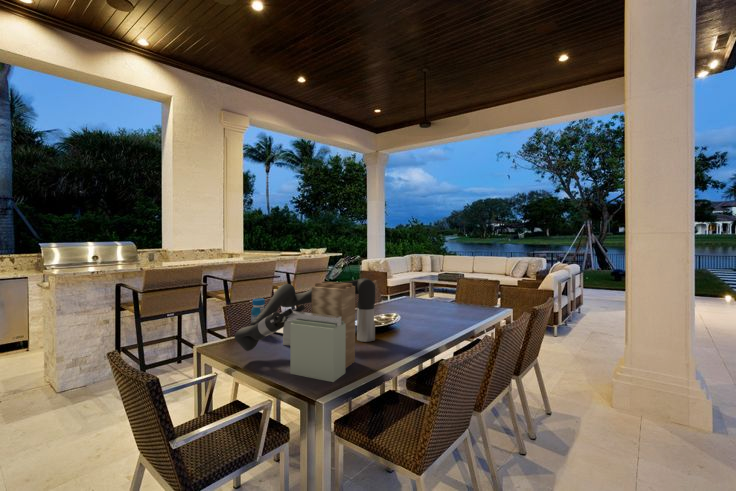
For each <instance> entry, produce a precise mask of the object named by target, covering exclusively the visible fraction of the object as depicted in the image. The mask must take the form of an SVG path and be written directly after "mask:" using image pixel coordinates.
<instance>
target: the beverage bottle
mask: <svg viewBox="0 0 736 491" xmlns="http://www.w3.org/2000/svg"><path fill="white" fill-rule="evenodd" d="M265 303H266V300H265V298H262V297H261V298H253V299H252V308H251V311H250V313H251V315H250V320H251V322H252V321H253V320H254V319H255V318H256V317H257V316H258V315H259V314H260V313H261V312H262V310H263V309H264V308H265V307H266V305H265ZM251 322H250V323H251Z"/></svg>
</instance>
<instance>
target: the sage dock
mask: <svg viewBox="0 0 736 491" xmlns="http://www.w3.org/2000/svg"><path fill="white" fill-rule="evenodd" d="M289 346H290V348H289V350H290V351H289V352H290V353H289V355H290V360H289V361H290V364H289V365H290V367H289V368H290V371H289V372H290V373H289V374H290V375H295V376H300V377H306V378H310V379H316V380H320V381H326V382H330V383H331V382H332V383H334V382H336V381H338V379H339V378H341V377H342V376H344V375H345V374H346V368H345V350H346V323H344V321H341V326H339V327H336V325H334V324H326V323H318V322H310V321H302V320H292V323H291V324H290V345H289Z"/></svg>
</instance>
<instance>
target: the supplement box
mask: <svg viewBox="0 0 736 491" xmlns="http://www.w3.org/2000/svg"><path fill="white" fill-rule="evenodd" d="M291 323H292V321H286V322H285V324H284V327H283V334H282V345H283V346H290V324H291Z"/></svg>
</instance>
